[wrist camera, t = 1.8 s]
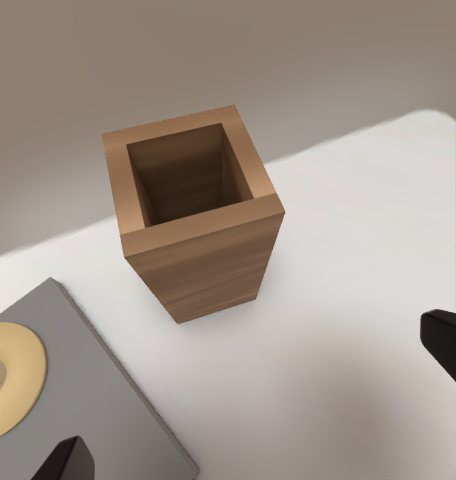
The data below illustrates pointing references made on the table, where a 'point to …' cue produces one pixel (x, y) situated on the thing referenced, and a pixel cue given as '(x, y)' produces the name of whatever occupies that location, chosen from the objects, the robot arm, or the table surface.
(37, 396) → the post stand
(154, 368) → the table surface
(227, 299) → the wooden pencil cup
